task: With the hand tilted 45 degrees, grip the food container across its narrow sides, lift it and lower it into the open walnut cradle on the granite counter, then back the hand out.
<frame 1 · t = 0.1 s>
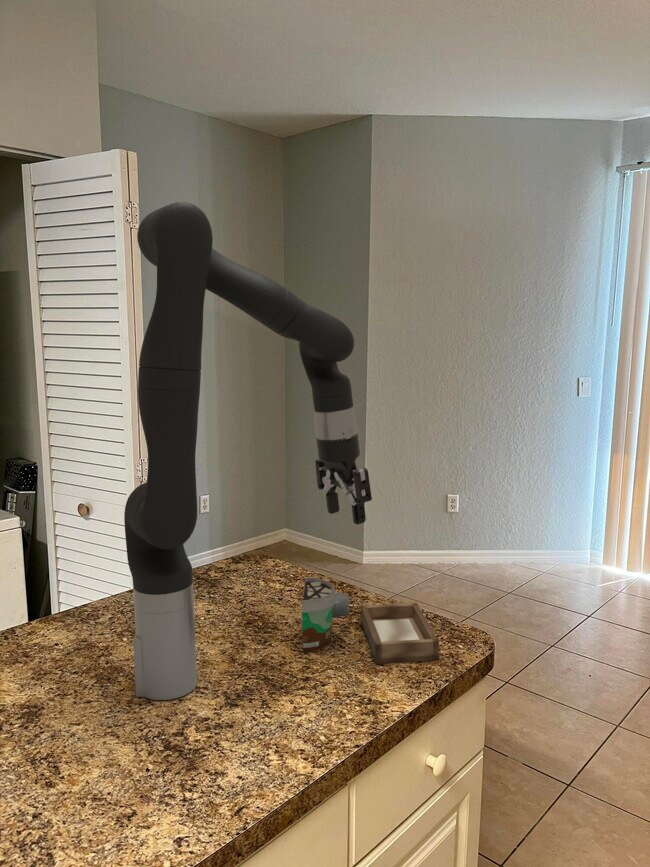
hand: (346, 517, 128), 22 cm above the worktop, tool pointing down, fingers open, 8 cm apart
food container: (320, 641, 128), on the worktop
grey domed puck: (334, 611, 141), on the worktop
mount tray: (397, 640, 128), on the worktop
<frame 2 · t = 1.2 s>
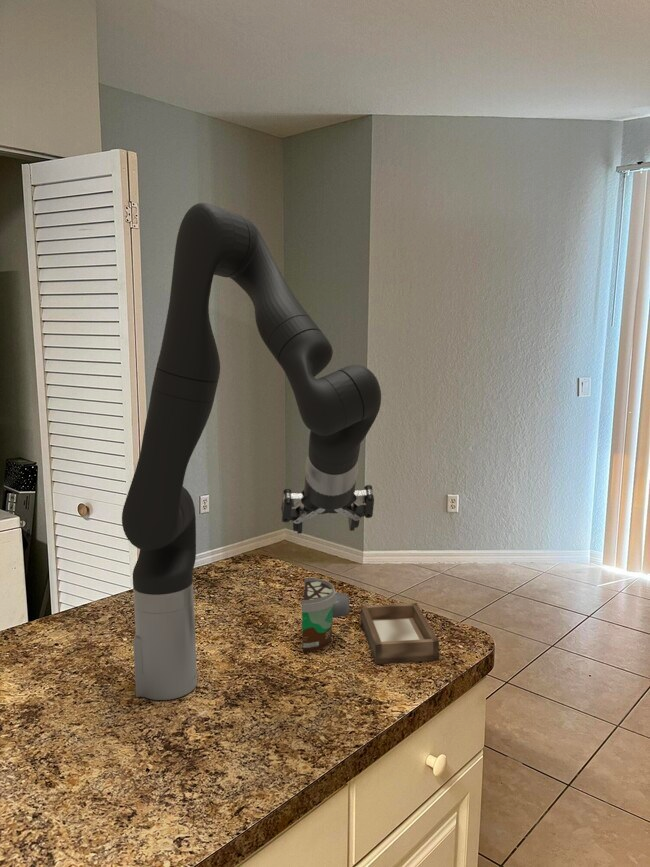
hand: (325, 527, 113), 25 cm above the worktop, tool tilted 45°, fingers open, 8 cm apart
nothing on the worktop moved.
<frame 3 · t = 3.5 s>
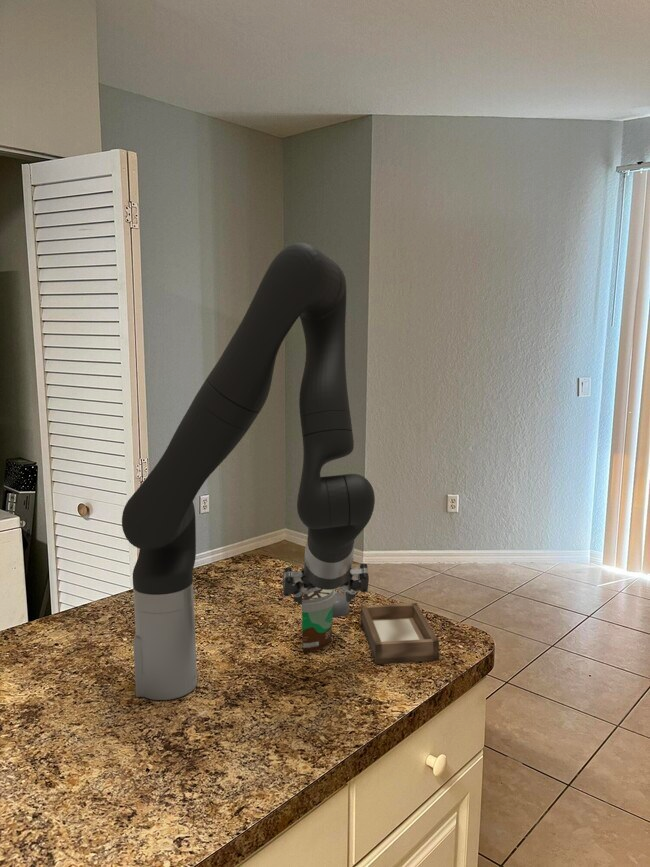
hand: (323, 598, 121), 10 cm above the worktop, tool tilted 45°, fingers open, 8 cm apart
nothing on the worktop moved.
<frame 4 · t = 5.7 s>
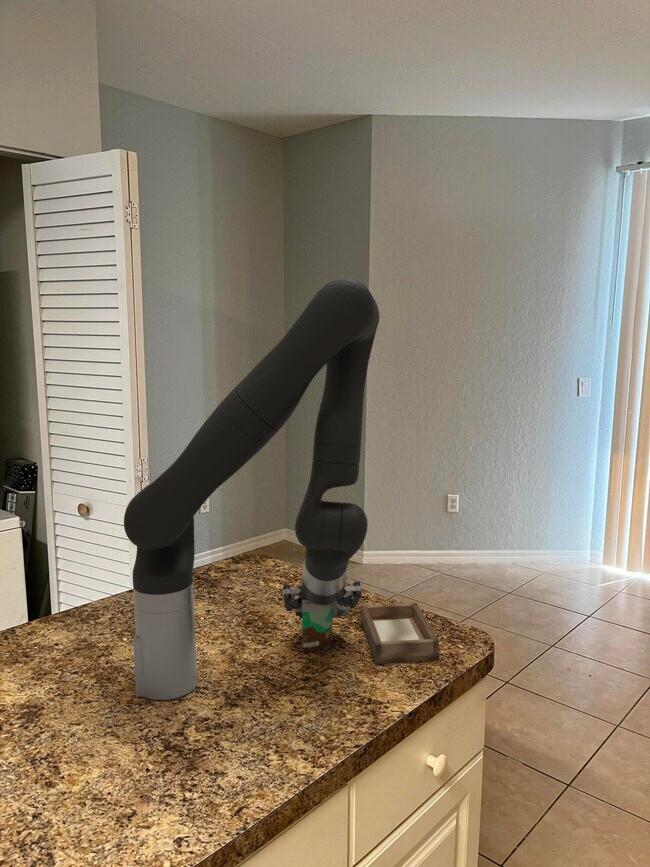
hand: (319, 612, 129), 5 cm above the worktop, tool tilted 45°, fingers closed on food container, 6 cm apart
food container: (320, 640, 128), on the worktop, touching gripper
everything else where it was.
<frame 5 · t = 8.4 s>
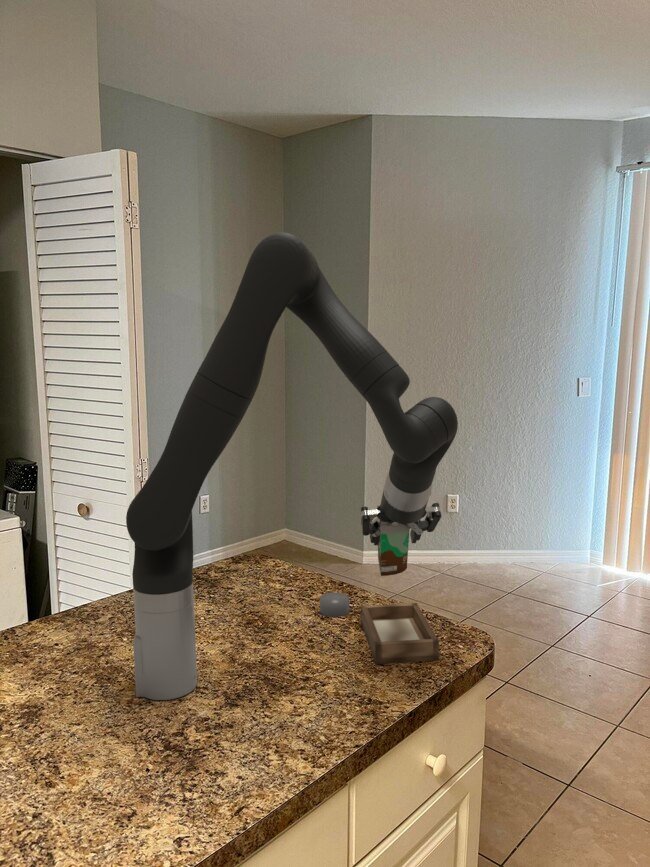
hand: (393, 539, 126), 19 cm above the worktop, tool tilted 45°, fingers closed on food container, 6 cm apart
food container: (396, 567, 125), point 14 cm above the worktop, touching gripper
everything else where it was.
when the fingers open (7 cm above the worktop, at t = 11.2 s): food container drops 1 cm, resting on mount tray.
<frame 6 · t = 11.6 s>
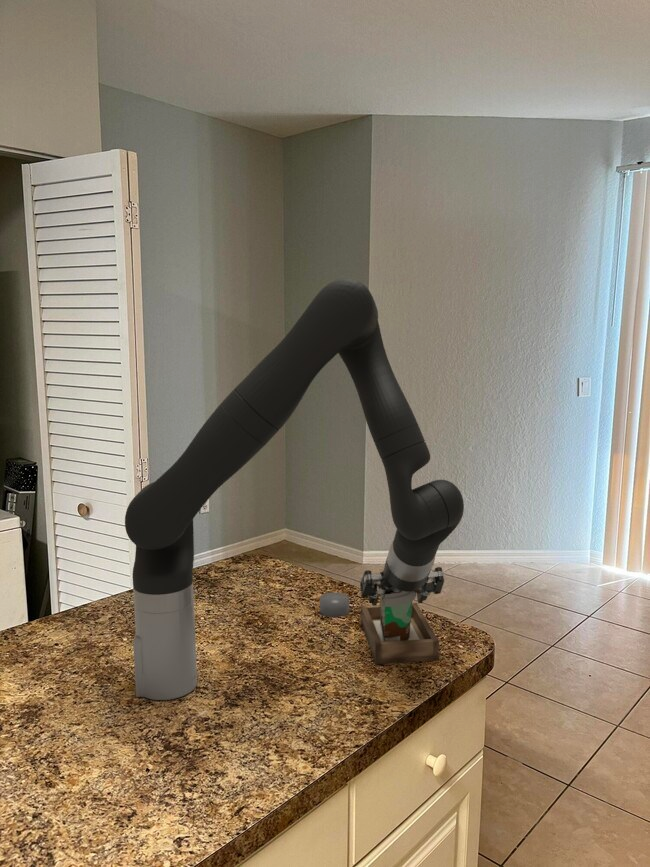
hand: (396, 599, 128), 7 cm above the worktop, tool tilted 45°, fingers open, 8 cm apart
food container: (399, 635, 127), point 1 cm above the worktop, touching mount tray
everything else where it was.
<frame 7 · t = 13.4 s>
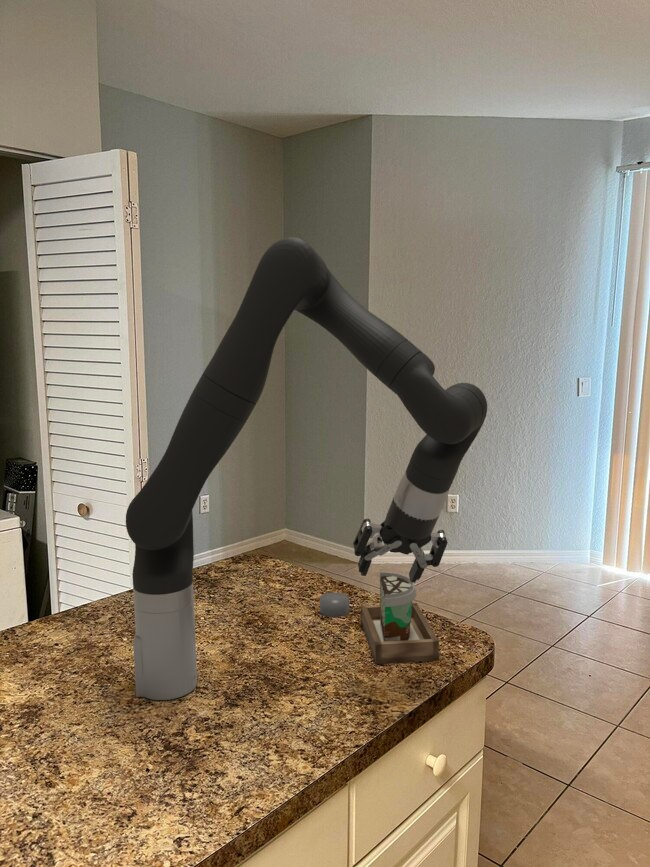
hand: (387, 575, 115), 16 cm above the worktop, tool tilted 30°, fingers open, 8 cm apart
nothing on the worktop moved.
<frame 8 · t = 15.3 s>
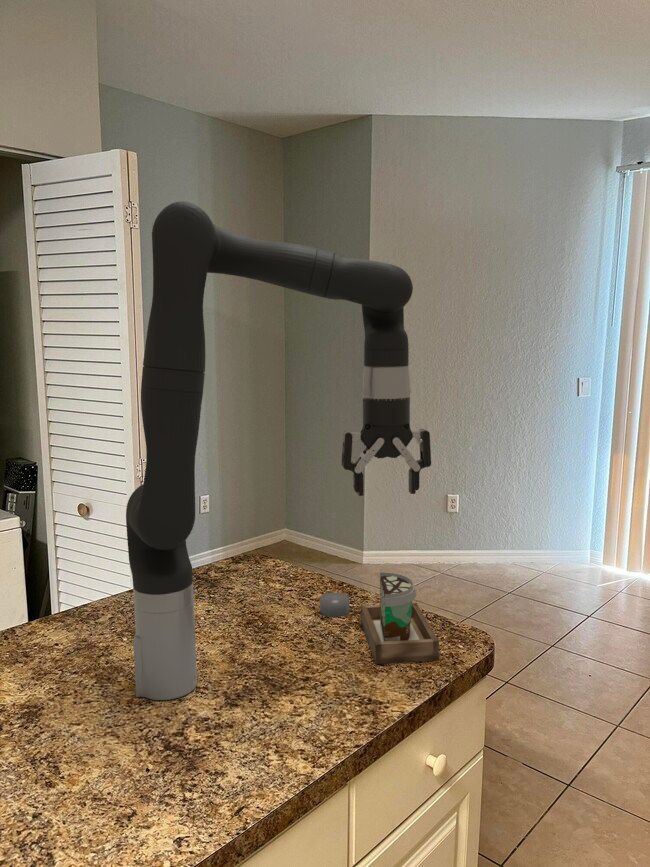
hand: (386, 493, 113), 30 cm above the worktop, tool pointing down, fingers open, 8 cm apart
nothing on the worktop moved.
at the end: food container inside the target area on the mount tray (0.3 cm from its centre), point 1.0 cm above the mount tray's base; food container tilted 0°; the gripper is holding nothing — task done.
